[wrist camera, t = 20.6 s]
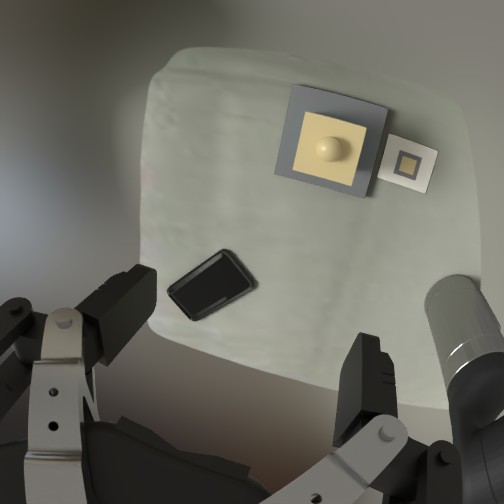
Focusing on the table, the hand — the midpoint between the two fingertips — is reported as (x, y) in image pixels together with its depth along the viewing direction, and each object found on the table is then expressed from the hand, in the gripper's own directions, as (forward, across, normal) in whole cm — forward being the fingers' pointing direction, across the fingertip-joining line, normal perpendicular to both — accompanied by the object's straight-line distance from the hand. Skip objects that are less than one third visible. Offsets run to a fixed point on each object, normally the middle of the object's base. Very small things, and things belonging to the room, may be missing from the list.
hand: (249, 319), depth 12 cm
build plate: (+32, -1, -4) cm, 32 cm away
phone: (+33, +12, +23) cm, 42 cm away
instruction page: (+32, -12, -4) cm, 34 cm away
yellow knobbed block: (+26, -1, -4) cm, 27 cm away
